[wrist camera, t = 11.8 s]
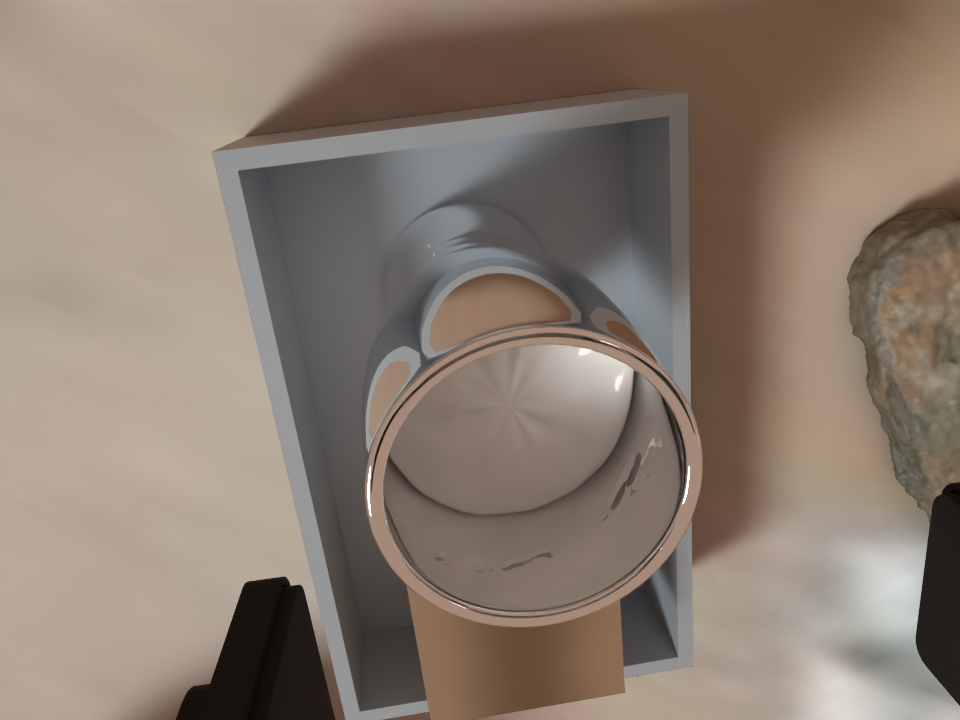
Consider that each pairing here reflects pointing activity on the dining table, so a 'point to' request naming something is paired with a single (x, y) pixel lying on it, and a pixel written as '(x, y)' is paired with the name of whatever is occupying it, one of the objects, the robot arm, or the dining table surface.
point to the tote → (362, 302)
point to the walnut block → (514, 662)
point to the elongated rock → (913, 344)
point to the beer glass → (517, 429)
